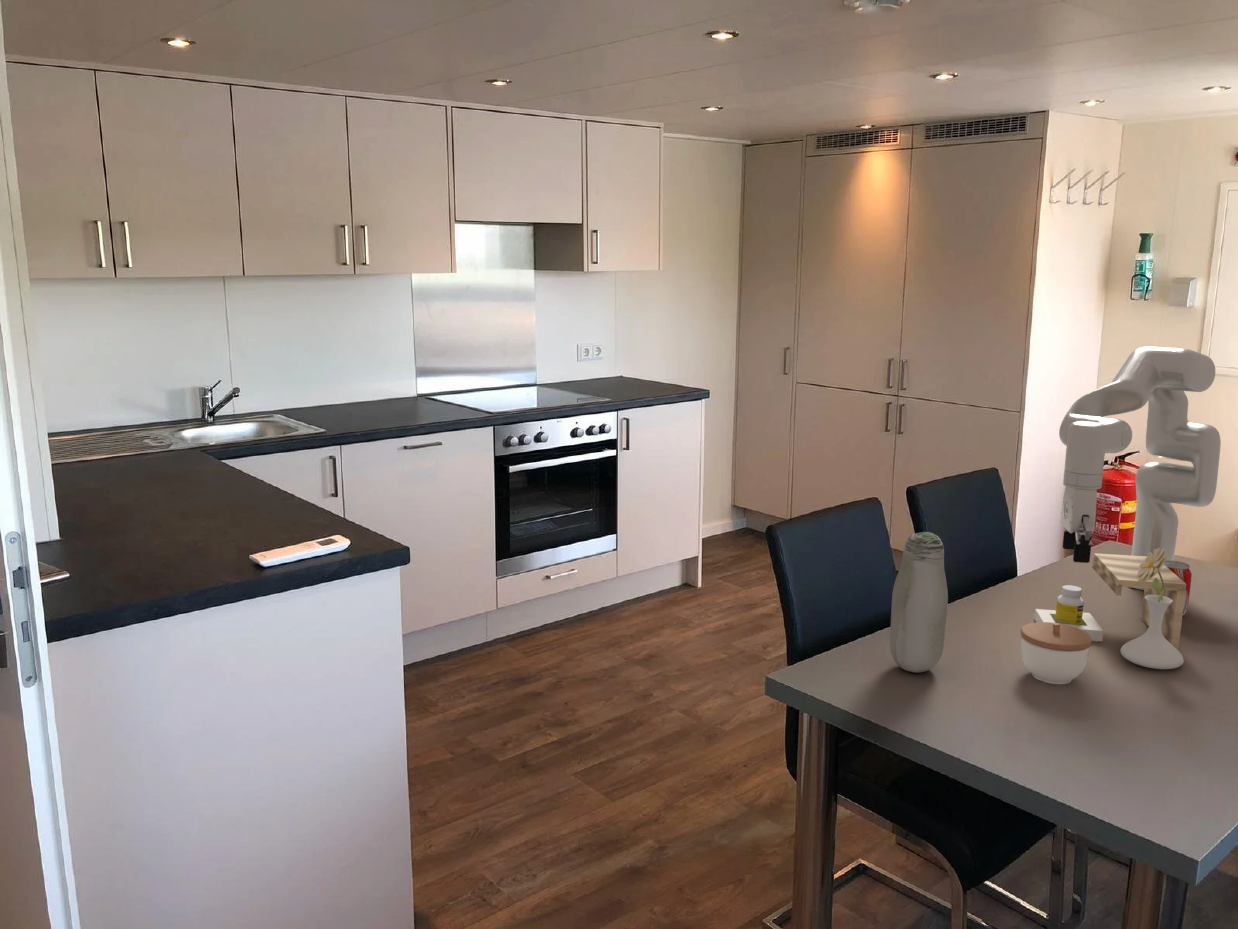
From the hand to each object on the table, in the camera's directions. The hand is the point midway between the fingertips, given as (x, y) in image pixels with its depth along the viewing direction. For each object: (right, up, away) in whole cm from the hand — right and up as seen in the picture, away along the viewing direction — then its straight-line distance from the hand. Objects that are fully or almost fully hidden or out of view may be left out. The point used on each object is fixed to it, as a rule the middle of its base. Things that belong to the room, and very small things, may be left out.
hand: (1075, 555), depth 215 cm
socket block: (0, -17, +3) cm, 17 cm away
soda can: (+28, -15, +14) cm, 35 cm away
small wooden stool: (+13, -17, +2) cm, 22 cm away
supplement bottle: (0, -17, +3) cm, 17 cm away
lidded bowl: (-15, -22, -22) cm, 35 cm away
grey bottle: (-41, -21, -19) cm, 50 cm away
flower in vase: (+8, -21, -16) cm, 27 cm away
